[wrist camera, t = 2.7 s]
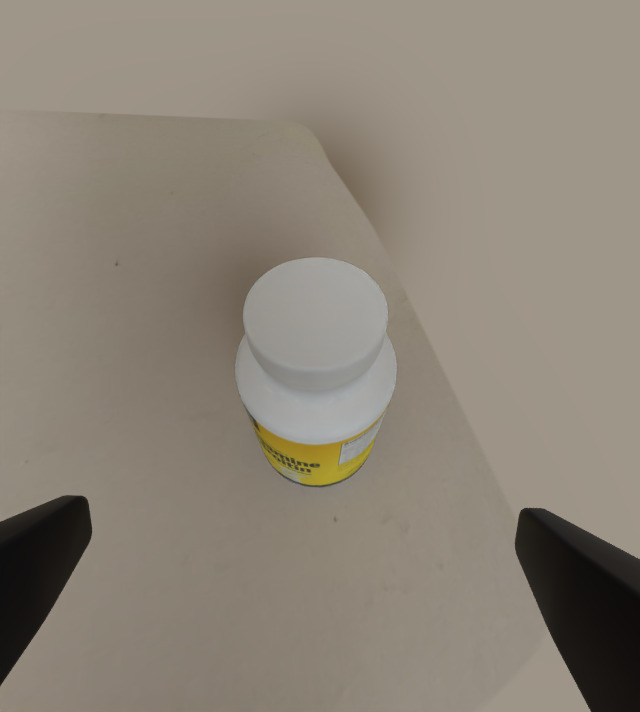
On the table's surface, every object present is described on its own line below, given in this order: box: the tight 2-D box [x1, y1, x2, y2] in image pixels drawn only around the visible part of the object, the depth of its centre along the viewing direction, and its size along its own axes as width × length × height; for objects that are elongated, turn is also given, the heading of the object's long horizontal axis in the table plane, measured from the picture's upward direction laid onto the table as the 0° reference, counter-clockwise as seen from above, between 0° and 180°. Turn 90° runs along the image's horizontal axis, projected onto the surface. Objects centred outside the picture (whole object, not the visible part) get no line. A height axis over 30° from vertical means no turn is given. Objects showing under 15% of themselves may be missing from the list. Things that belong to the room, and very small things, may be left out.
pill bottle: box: [235, 257, 397, 488], centre depth 17 cm, size 6×6×12 cm
